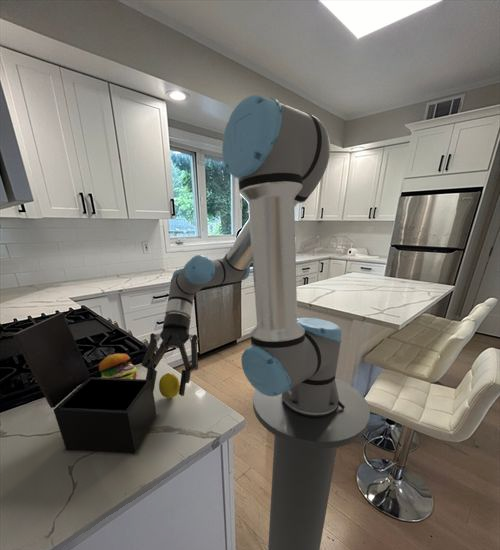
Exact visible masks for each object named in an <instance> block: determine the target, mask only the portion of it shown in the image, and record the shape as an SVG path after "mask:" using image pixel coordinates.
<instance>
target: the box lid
mask: <svg viewBox="0 0 500 550" xmlns="http://www.w3.org/2000/svg"><path fill="white" fill-rule="evenodd" d="M12 337H13V339H14V341H15V343H16V345H17V347H18V349H19V350H20V353H21V354H22V356H23V358H24V360H25V362H26V363H27V366H28V367H29V369H30V371H31V373H32V375H33V377H34V379H35V381H36V383H37V385H38V387H39V388H40V390H41V393H42V394H43V396H44V398H45V400H46V401H47V403H48V405H49V407H50V408H51V409H55V408H56V407H57V406H58V405H59V404H60V403H61V402H63V401H64V400H65V399H66V398H67V397H68V396H69V395H70V394H72V393H73V392H74V391H75V390H76V389H77V388H78V387H79V386H81V385H82V384H83V383H84V382H85V381H86V380H87V379H88V378H90V376H91V374H90V371H89V368H88V367H87V364H86V362H85V360H84V357H83V355H82V353H81V351H80V348H79V346H78V344H77V341H76V339H75V337H74V334H73V332H72V331H71V328H70V326H69V323H68V321H67V319H66V316H65V313H64V312H60V313H57V314H55V315H53V316H50V317H49V318H48V317H47V318H46V319H44V320H42V321H39V322H37V323H35V324H33V325H31V326H28V327H26V328H24V329H22V330H19V331H18V332H15V333H13V334H12Z"/></svg>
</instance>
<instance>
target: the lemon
mask: <svg viewBox="0 0 500 550" xmlns="http://www.w3.org/2000/svg"><path fill="white" fill-rule="evenodd" d="M179 388H180V380H179V378H178V377H177V376H176V374H174V373H171V372H167V373H165V374H163V375H162V376H161V377H160V379H159V383H158V390H159V392H160V394H161V395H162V396H163V397H164V398H166V399H173V398H174V397H176V396H177V395H179Z"/></svg>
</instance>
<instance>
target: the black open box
mask: <svg viewBox="0 0 500 550" xmlns="http://www.w3.org/2000/svg"><path fill="white" fill-rule="evenodd" d="M155 401H156V400H155V395H154V391H153V387H152V380H146V379H140V378H135V379H117V378H102V377H90V376H89V377H88V378H87V379H86V380H85V381H84V382H83V383H81V384H80V385H79V386H78V387H77V388H76V389H75V390H74V391H72V392H71V393H70V394H69V395H68V396H67V397H66V398H65V399H63V400H62V401H61V402H60V403H59V404H58V405H57V406H55V407H54V408H53V413H54V416H55V420H56V422H57V426H58V429H59V432H60V434H61V438H62V441H63V444H64V448H65V450H66V451H80V452H81V451H83V452H97V453H98V452H101V453H116V454H117V453H119V454H136V453H137V451H138V450H139V448H140V446H141V444H142V443H143V441H144V439H145V438H146V435H147V434H148V432H149V430H150V428H151V427H152V425H153V423H154V421H155V420H156V417H157V416H158V414H157V407H156V402H155Z"/></svg>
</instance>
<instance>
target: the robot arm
mask: <svg viewBox="0 0 500 550" xmlns="http://www.w3.org/2000/svg"><path fill="white" fill-rule="evenodd" d="M330 141H331V140H330V136H329V132H328V130H327V128H326V127H325V125H324V124H323V122H322V121H321V120H320V119H319V118H318V117H316V116H315V115H313V114H311V113H308V112H304V111H302V110H299V109H297V108H294V107H291V106H289V105H286V104H284V103H281V102H279V100H278V99H276V98H274V97H266V96H264V95H259V94H253V95H248V96H246V97H245V98H243V99H242V100H241V101H240V102H238V104H237V105H236V106H235V107H234V109H233V111H232V112H231V114H230V116H229V119H228V122H227V123H226V125H225V128H224V132H223V137H222V148H221V150H222V161H223V164H224V167H225V169H226V170H227V172H228V173H229V174H230V175H231V176H233V178H236V179H238V190H239V191H238V193H239V195H240V196H241V197H242V198H243V199H244V201H246V202H247V204H248V216H249V217H248V220H247V221H246V223H245V224H244V225H243V227H242V229H241V231H240V232H239V234H238V235H237V237H236V238H235V239H234V241H233V243H232V244H231V246H230V248H229V249H228V250H227V251H226V254H225V255H224V257H223V258H217V259H210V258H209V257H208V256H206V255H203V254H197V255H193V256H192V257H191V259H190V260H187V262H186V263H185V264H184V266H183V268H179V269H176V270H174V271H173V273H172V277H171V279H170V286H169V291H168V298H167V303H166V307H165V314H164V320H163V324H162V330H161V332H160V333H156V334H155V333H153V332H152V333H150V336H149V343H148V346H147V348H146V351H145V353H144V356H143V359H142V361H141V367H143V368H145V369H146V370H147V371H146V376H145V380H152V387H153V392H154V390H155V386H156V379H157V374H158V371H157V369H156V368H157V367H158V365H159V363H160V362H161V360H162V359H163V357H164V355H165V354H166V352H167V351H168V350H169V349H173V348H175V349H179V352H180V355H181V359H182V362H183V365H184V369H182V370H181V376H180V380H179V383H180V388H179V392H178V395H179V396H181V397H185V392H186V384H190V382H191V381H190V380H191V374H192V372H193V371H197V370H198V369H199V360H198V344H199V340H200V339H199V337H198V335H197V334H193V335H192V334H190V327H191V318H192V313H193V305H194V299H195V295H197V293H198V292H200V291H201V289H203V288H208V287H215V286H220V285H225V284H231V283H239V282H241V281H242V282H243V281H245V280H247V279H248V277H249V276H250V272H251V264H252V273H253V274H252V275H253V284H254V285H253V288H254V303H255V316H256V317H255V319H256V325H255V326H254V328H253V329H252V330H251V331H250V333H249V334H250V343H251V345H250V346H248V347H246V348H245V349H244V351H243V352H242V354H241V359H240V361H241V368H242V371H243V374H244V376H245V378H246V379H247V381H248V382H249V383H250V385H251V386H252V387H253V388H254V389H255V390H257V391H259V392H260V393H262V394H264V395H267V396H277V395H279V394H281V393H282V401H283V404H284V405H285V406H286V407H287V408H288V409H289V410H290V411H292V412H293V413H295V414H298V415H300V416H304V417H308V418H323V417H327V416H330V415H332V414H333V413H335V412H336V410H337V409H338V405H339V406H340V407H341V408H342V409H344V408H345V406H344V405H343V404H342V403H341V402H340V401H339V396H338V391H337V387H336V382H335V378H336V374H337V367H338V362H339V356H340V350H341V343H342V329H341V327H340V326H339V325H338V324H336V323H335V322H332V321H329V320H326V319H321V318H316V317H300V318H299V317H298V298H297V297H298V296H297V293H298V292H297V257H296V256H297V254H296V222H295V220H296V218H295V217H296V215H295V214H296V213H295V209H296V207H297V205H298V204H302V203H305V202H306V201H307V200H308V199H309V197H310V196H311V195H312V193H313V192H314V191H315V190H316V188H317V186H318V185H319V183H320V182H321V180H322V179H323V177H324V174H325V172H326V170H327V167H328V164H329V160H330V155H331V142H330ZM160 340H161V342H160V345H159V347H158V349H157V345H158V342H159V341H160ZM188 341H189V342H190V355H191V363H190V361H189V357H188V354H187V350H186V346H185V344H186V343H187V342H188ZM156 349H157V350H156ZM155 351H156V352H155Z"/></svg>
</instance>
